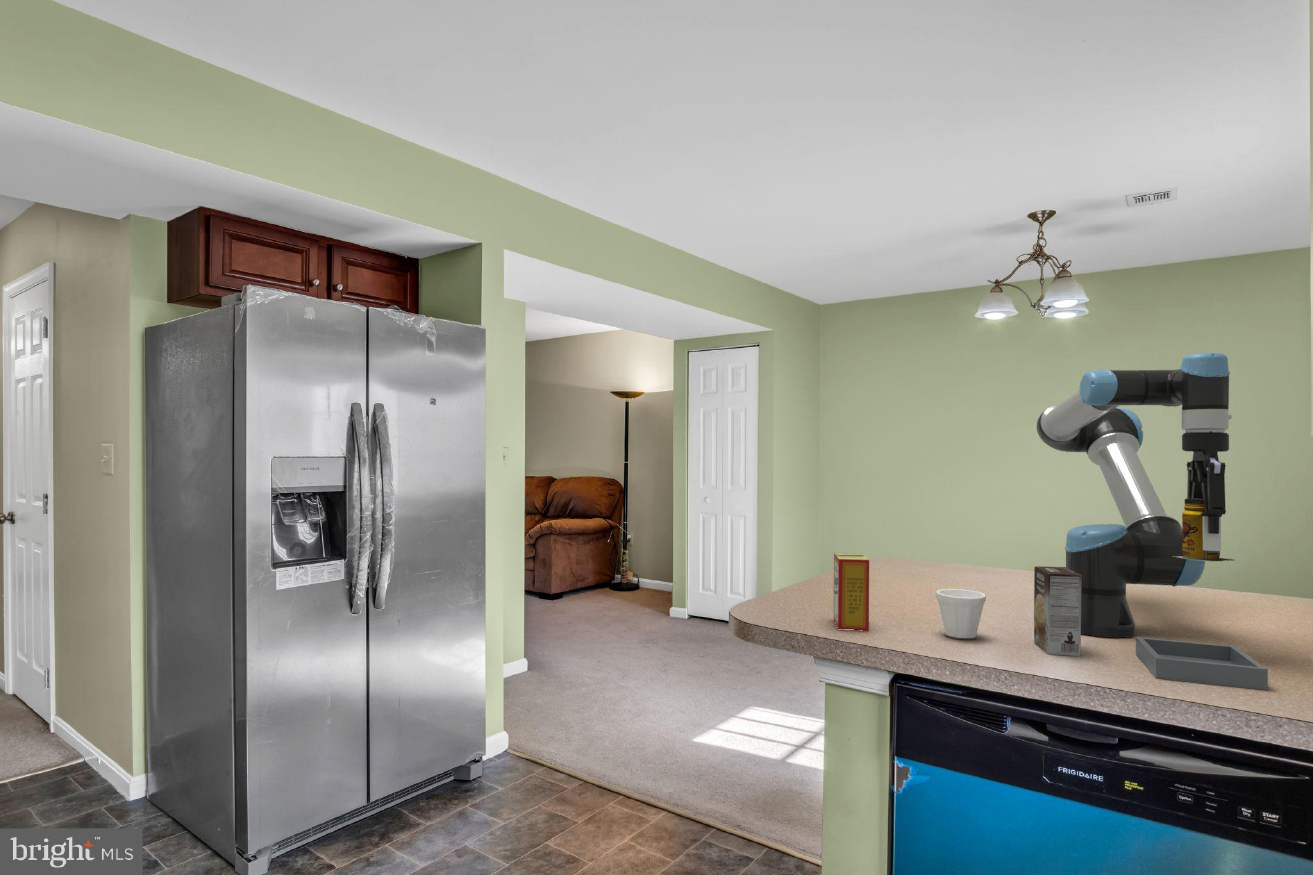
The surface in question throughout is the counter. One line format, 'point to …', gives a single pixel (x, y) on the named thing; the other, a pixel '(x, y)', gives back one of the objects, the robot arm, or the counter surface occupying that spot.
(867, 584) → the baking soda box
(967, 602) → the cup
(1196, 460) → the robot arm
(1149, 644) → the tray
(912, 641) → the counter surface
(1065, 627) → the coffee box
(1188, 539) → the condiment
